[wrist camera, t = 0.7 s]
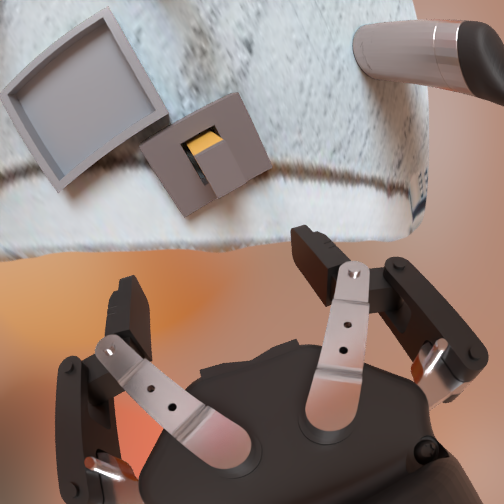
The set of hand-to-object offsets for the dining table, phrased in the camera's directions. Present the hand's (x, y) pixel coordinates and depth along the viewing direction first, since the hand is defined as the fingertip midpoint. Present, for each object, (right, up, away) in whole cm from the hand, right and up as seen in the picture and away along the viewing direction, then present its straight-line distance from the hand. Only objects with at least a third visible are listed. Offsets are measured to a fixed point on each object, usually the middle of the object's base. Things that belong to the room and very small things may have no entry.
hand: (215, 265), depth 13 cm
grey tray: (-17, +18, +9) cm, 26 cm away
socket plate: (-4, +12, +17) cm, 22 cm away
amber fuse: (-4, +12, +17) cm, 22 cm away
